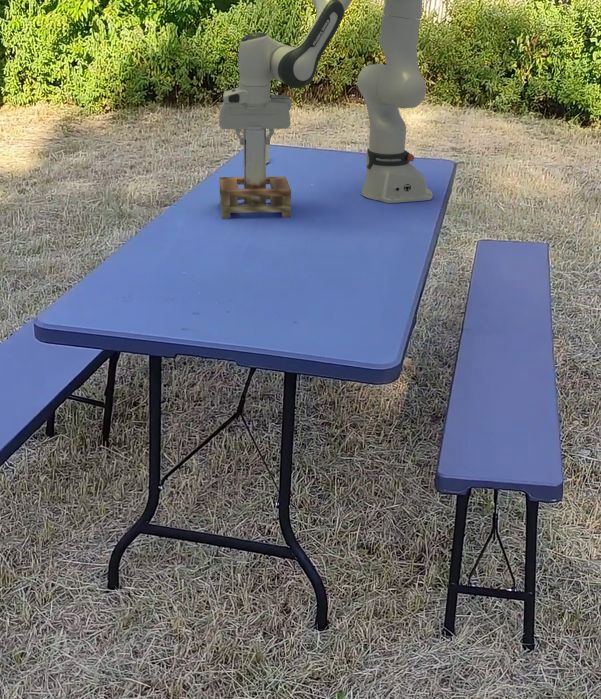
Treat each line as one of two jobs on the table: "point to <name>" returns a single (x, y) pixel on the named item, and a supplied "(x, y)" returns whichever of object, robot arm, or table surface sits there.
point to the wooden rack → (276, 194)
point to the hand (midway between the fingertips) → (254, 144)
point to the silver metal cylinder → (254, 162)
